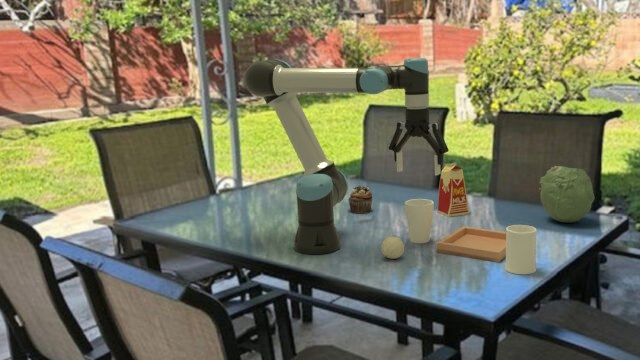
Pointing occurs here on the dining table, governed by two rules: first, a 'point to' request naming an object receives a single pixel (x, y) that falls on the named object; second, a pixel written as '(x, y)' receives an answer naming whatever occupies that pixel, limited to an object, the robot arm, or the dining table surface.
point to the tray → (475, 244)
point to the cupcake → (360, 200)
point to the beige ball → (392, 247)
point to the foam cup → (419, 219)
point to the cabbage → (566, 193)
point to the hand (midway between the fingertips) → (418, 173)
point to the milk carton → (452, 192)
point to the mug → (520, 249)
